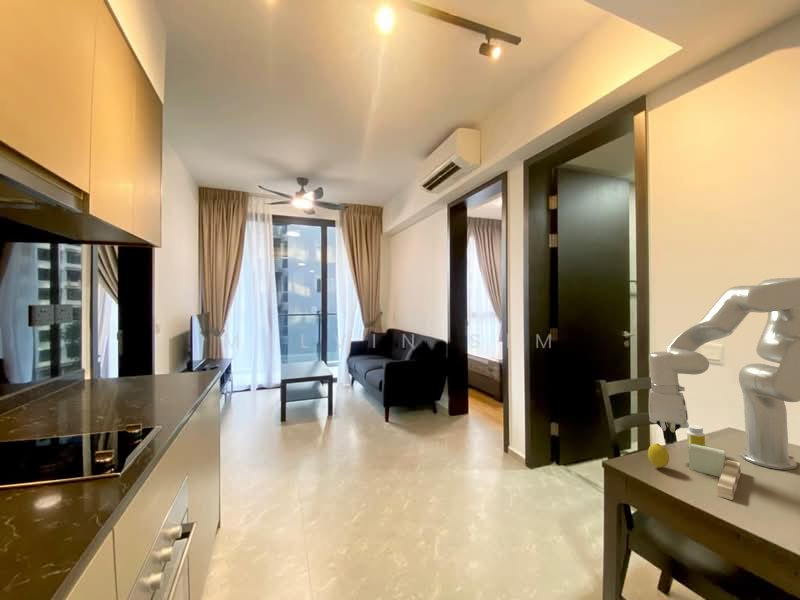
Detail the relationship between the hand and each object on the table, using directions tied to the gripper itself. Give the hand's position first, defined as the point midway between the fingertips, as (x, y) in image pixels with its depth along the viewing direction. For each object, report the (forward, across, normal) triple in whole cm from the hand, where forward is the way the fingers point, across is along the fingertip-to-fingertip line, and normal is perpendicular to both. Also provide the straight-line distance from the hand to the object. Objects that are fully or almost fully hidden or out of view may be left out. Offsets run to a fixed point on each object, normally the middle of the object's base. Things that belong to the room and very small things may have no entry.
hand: (670, 441), depth 117 cm
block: (+6, -9, +1) cm, 11 cm away
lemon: (+6, +2, +10) cm, 12 cm away
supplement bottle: (+6, -4, -13) cm, 15 cm away
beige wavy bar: (+6, -15, +7) cm, 18 cm away
